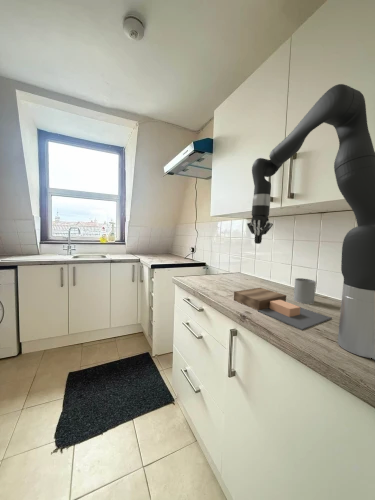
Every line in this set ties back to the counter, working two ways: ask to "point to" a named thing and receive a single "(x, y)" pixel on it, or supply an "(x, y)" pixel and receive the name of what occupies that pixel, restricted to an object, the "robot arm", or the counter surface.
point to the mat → (297, 318)
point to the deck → (257, 297)
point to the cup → (304, 290)
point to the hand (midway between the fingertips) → (257, 243)
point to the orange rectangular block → (285, 308)
